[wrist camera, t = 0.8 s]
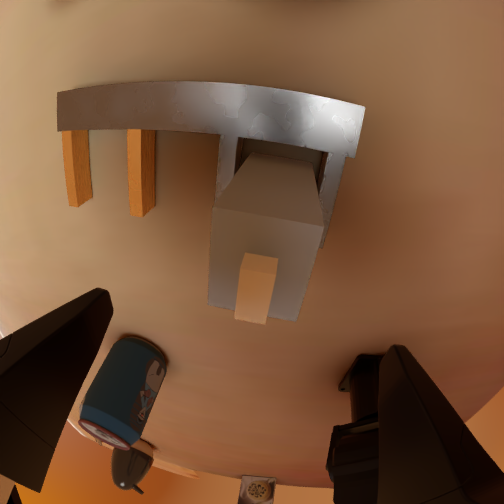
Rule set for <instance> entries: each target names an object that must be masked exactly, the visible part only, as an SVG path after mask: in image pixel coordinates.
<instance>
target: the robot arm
mask: <svg viewBox="0 0 504 504" xmlns="http://www.w3.org/2000/svg"><path fill="white" fill-rule="evenodd" d="M112 316H113V306H112V302H111V298H110V294H109V292H108V291H107V290H105V289H102V288H95V289H93V290H91V291H89V292H87V293H85V294H83V295H81V296H79V297H77V298H76V299H74V300H72V301H70V302H68V303H66V304H64V305H62V306H60V307H59V308H57V309H55V310H53V311H51V312H49V313H47V314H46V315H44V316H42V317H40V318H38V319H36V320H35V321H33V322H31V323H29V324H27V325H26V326H24V327H22V328H20V329H18V330H17V331H15V332H13V334H10V335H8V336H6V337H4V338H3V339H1V340H0V504H22V502H21V499H20V497H19V494H18V491H17V488H16V485H15V482H16V483H18V484H21V485H23V486H25V487H27V488H29V489H31V490H34V491H36V492H38V493H40V492H41V489H42V486H43V483H44V480H45V477H46V474H47V471H48V468H49V465H50V462H51V459H52V457H53V454H54V451H55V448H56V446H57V443H58V440H59V438H60V435H61V433H62V430H63V428H64V425H65V423H66V420H67V418H68V416H69V413H70V411H71V409H72V406H73V404H74V402H75V400H76V397H77V395H78V393H79V391H80V389H81V387H82V384H83V382H84V380H85V378H86V376H87V374H88V372H89V370H90V368H91V366H92V364H93V362H94V360H95V358H96V355H97V353H98V351H99V349H100V346H101V343H102V341H103V338H104V336H105V333H106V330H107V328H108V325H109V323H110V321H111V318H112ZM338 390H339V391H341V392H350V399H351V416H352V423H349V424H344V425H336V426H334V427H333V433H332V435H331V441H330V447H329V452H328V458H327V464H326V470H327V471H328V472H329V476H330V479H331V481H332V482H333V483H334V497H333V501H334V503H335V504H504V473H503V472H502V471H501V469H500V468H499V467H498V466H497V464H496V463H495V462H494V461H493V460H492V458H490V456H489V455H488V454H487V452H486V451H485V450H484V449H483V447H482V446H481V445H480V444H479V442H478V441H477V440H476V438H475V437H474V436H473V434H472V433H471V432H470V430H469V429H468V427H467V426H466V425H465V424H464V422H463V420H462V419H461V418H460V416H459V415H458V414H457V412H456V411H455V410H454V408H453V407H452V405H451V404H450V403H449V401H448V400H447V399H446V397H445V396H444V395H443V393H442V392H441V391H440V390H439V388H438V387H437V386H436V384H435V383H434V382H433V381H432V379H431V378H430V377H429V375H428V374H427V373H426V372H425V370H424V369H423V368H422V367H421V365H420V364H419V363H418V362H417V360H416V359H415V358H414V357H413V355H412V354H411V353H410V352H409V350H408V349H407V348H406V347H405V346H403V345H395V344H394V345H392V346H391V347H390V348H389V350H388V351H387V353H386V354H385V356H384V357H380V356H368V355H360V356H358V357H357V359H356V360H355V362H354V364H353V365H352V367H351V368H350V370H349V371H348V373H347V374H346V376H345V377H344V379H343V380H342V382H341V383H340V385H339V386H338Z"/></svg>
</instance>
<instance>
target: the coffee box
mask: <svg viewBox="0 0 504 504" xmlns="http://www.w3.org/2000/svg"><path fill="white" fill-rule="evenodd" d="M275 486H276V478H268V477H255V476H245V475H243V476H242V482H241V487H240V493H239V498H238V504H273V501H274V493H275Z"/></svg>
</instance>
